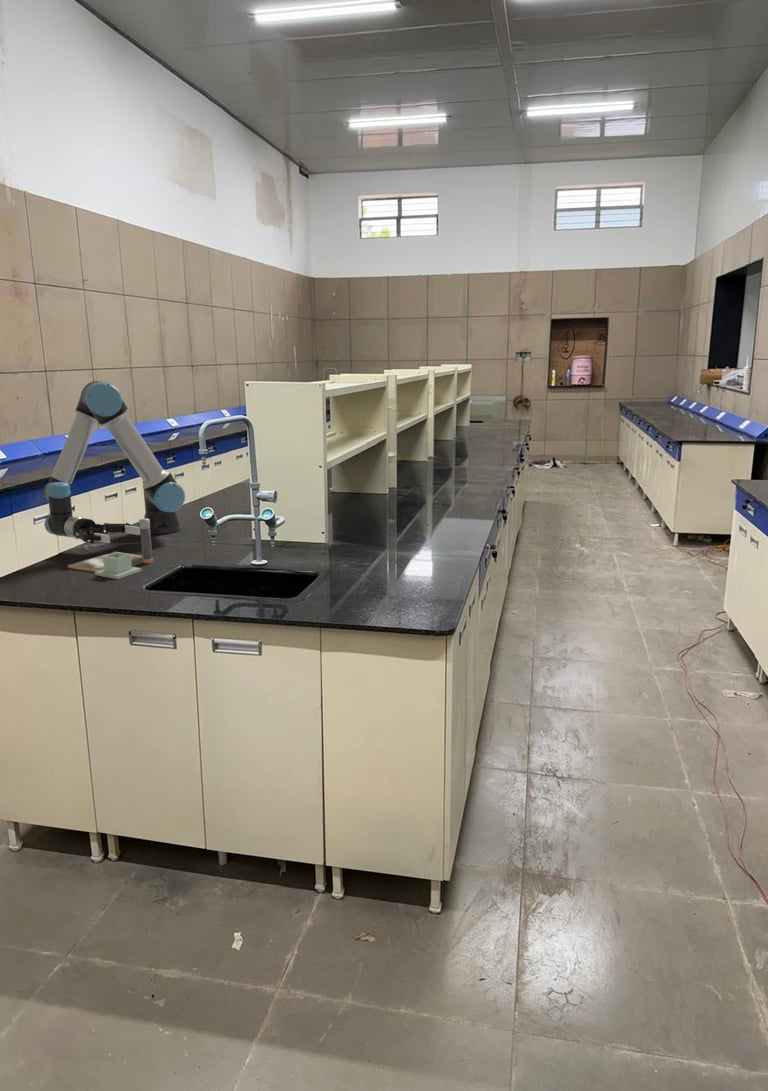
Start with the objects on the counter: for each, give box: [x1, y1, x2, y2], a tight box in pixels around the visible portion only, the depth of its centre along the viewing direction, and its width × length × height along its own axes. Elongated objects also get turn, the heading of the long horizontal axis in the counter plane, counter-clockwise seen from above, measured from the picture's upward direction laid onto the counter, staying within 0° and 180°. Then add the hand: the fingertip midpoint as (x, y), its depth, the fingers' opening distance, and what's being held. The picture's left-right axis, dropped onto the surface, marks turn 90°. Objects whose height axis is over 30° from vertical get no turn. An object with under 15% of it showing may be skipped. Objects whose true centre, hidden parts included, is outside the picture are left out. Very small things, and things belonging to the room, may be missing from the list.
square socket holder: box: [94, 551, 142, 580], centre depth 238 cm, size 10×10×6 cm
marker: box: [138, 517, 154, 565], centre depth 249 cm, size 3×3×15 cm
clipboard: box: [67, 551, 143, 573], centre depth 250 cm, size 20×14×2 cm
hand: (124, 535), depth 253 cm, fingers open, 13 cm apart
